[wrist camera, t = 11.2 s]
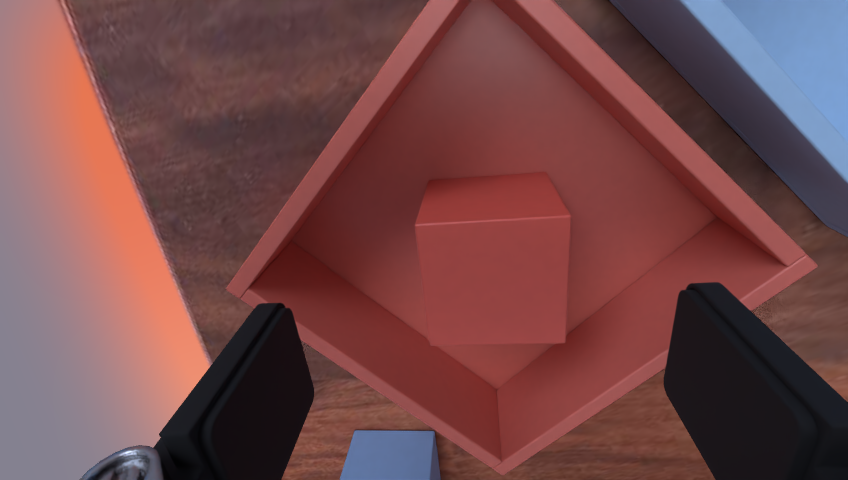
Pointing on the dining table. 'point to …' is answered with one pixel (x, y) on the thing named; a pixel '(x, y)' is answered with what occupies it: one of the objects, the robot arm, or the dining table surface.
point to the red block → (494, 260)
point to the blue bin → (767, 82)
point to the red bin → (502, 155)
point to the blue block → (392, 456)
